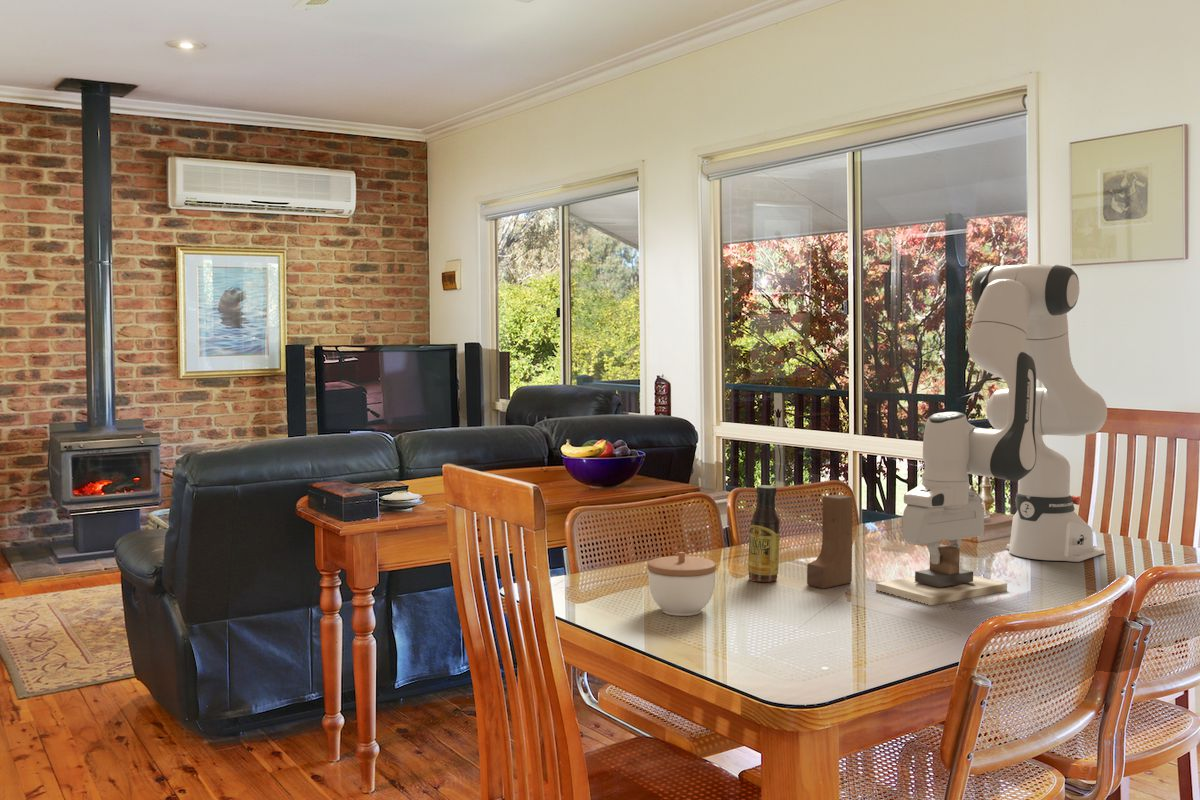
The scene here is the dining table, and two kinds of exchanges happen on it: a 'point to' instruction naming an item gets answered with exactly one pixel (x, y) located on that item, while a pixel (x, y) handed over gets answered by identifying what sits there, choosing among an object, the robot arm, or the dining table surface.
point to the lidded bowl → (681, 583)
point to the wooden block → (834, 545)
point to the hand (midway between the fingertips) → (944, 562)
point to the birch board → (940, 590)
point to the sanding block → (945, 570)
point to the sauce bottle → (764, 537)
